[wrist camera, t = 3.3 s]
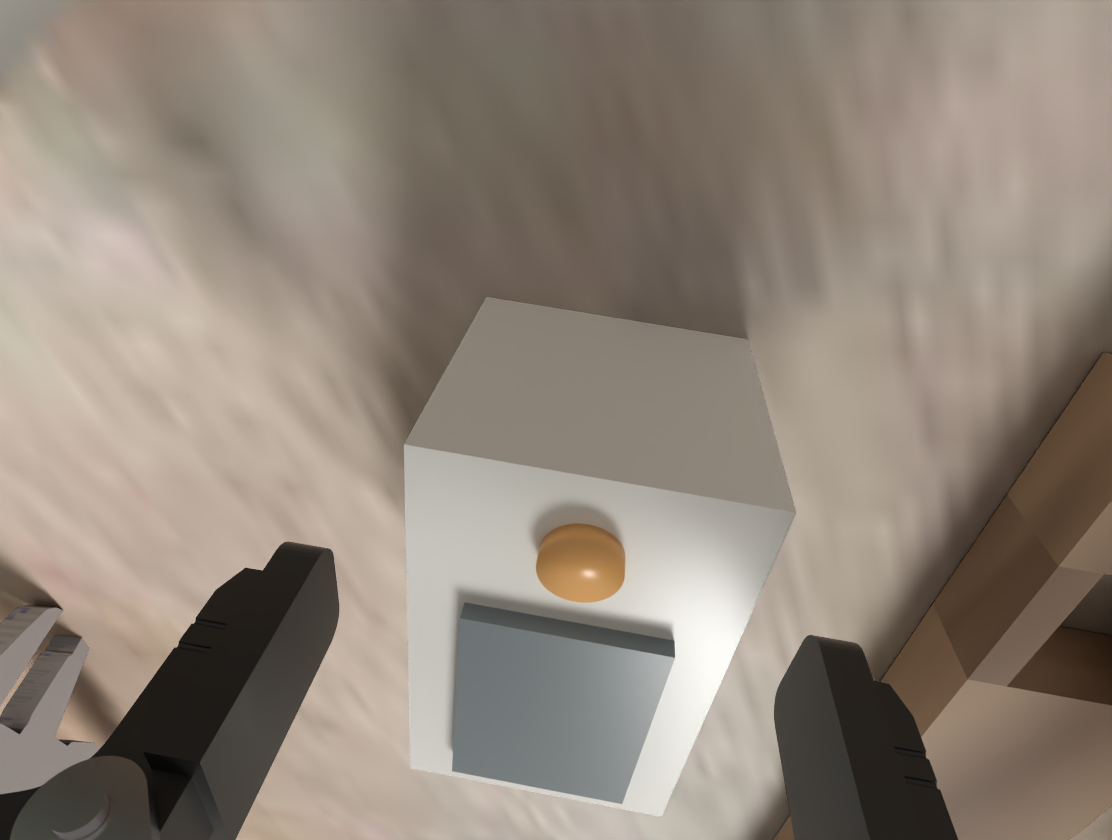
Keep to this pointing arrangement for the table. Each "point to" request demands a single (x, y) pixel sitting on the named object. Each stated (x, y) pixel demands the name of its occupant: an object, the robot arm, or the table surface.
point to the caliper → (37, 699)
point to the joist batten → (1024, 647)
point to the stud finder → (583, 549)
